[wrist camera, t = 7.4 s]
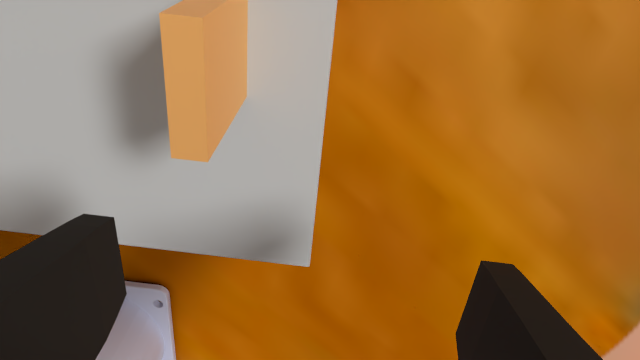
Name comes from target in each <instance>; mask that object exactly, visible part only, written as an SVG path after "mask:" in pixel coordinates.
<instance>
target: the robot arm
mask: <svg viewBox="0 0 640 360" xmlns="http://www.w3.org/2000/svg"><path fill="white" fill-rule="evenodd" d="M159 301H161V302H159ZM456 341H457V351H458V360H603V359H602V358H601V357H600V356H599V355H598V354H597V353H596V352H595V351H594V350H593V349H592V348H591V347H590V346H589V345H588V344H587V343H586V342H585V341H584V340H583V339H582V338H581V337H580V335H579V334H578V333H577V332H576V331H575V330H574V329H573V328H572V327H571V326H570V325H569V324H568V323H567V322H566V321H565V319H564V318H563V317H562V316H561V315H560V314H559V313H558V312H557V311H556V310H555V309H554V308H553V307H552V305H551V304H550V303H549V302H548V301H547V300H546V299H545V298H544V297H543V296H542V295H541V293H540V292H539V291H538V290H537V289H536V288H535V287H534V286H533V285H532V284H531V283H530V282H529V280H528V279H527V278H526V277H525V276H524V275H523V274H522V273H521V272H520V271H519V270H518V269H517V268H516V267H515V266H514V265H513V264H505V263H497V262H489V261H481V263H480V266H479V268H478V271H477V274H476V277H475V280H474V283H473V286H472V289H471V291H470V294H469V297H468V300H467V303H466V306H465V309H464V311H463V314H462V317H461V320H460V323H459V326H458V329H457V331H456ZM0 360H176V354H175V344H174V334H173V324H172V315H171V305H170V295H169V291H168V290H167V289H166V288H165V287H164V286H161V285H155V284H146V283H138V282H130V281H125V280H124V274H123V268H122V262H121V256H120V250H119V244H118V238H117V232H116V226H115V220H114V217H108V216H100V215H91V214H82V215H80V216H78V217H76V218H74V219H72V220H70V221H68V222H66V223H64V224H62V225H61V226H59V227H57V228H55V229H53V230H52V231H50V232H48V233H46V234H45V235H43V236H41V237H39V238H38V239H36V240H34V241H32V242H31V243H29V244H27V245H25V246H24V247H22V248H20V249H18V250H17V251H15V252H13V253H11V254H10V255H8V256H6V257H4V258H2V259H1V260H0Z"/></svg>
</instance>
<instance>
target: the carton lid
mask: <svg viewBox="0 0 640 360" xmlns="http://www.w3.org/2000/svg"><path fill="white" fill-rule="evenodd" d="M336 9H337V0H0V230H4V231H12V232H20V233H29V234H37V235H45V234H46V233H48V232H50V231H52V230H53V229H55V228H57V227H59V226H61V225H62V224H64V223H66V222H68V221H70V220H72V219H74V218H76V217H78V216H80V215H82V214H91V215H100V216H108V217H114V220H115V226H116V232H117V238H118V244H121V245H129V246H138V247H146V248H155V249H163V250H171V251H180V252H188V253H197V254H205V255H213V256H222V257H230V258H238V259H247V260H255V261H264V262H272V263H280V264H289V265H297V266H306V267H309V265H310V258H311V248H312V239H313V229H314V220H315V210H316V201H317V191H318V181H319V172H320V162H321V153H322V143H323V134H324V124H325V114H326V105H327V95H328V86H329V76H330V67H331V57H332V47H333V38H334V28H335V19H336Z"/></svg>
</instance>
